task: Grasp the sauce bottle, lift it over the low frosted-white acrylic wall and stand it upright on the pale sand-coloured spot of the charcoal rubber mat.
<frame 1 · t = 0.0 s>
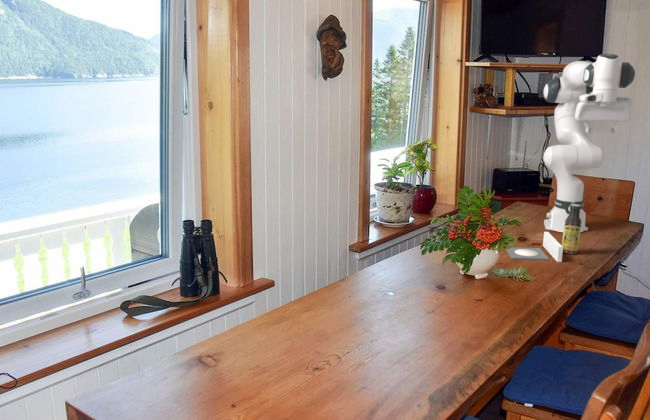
hand: (600, 132, 243), 48 cm above the table, fingers open, 8 cm apart
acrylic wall: (551, 253, 248), on the table
mat: (526, 254, 247), on the table
sauce bottle: (569, 253, 250), on the table
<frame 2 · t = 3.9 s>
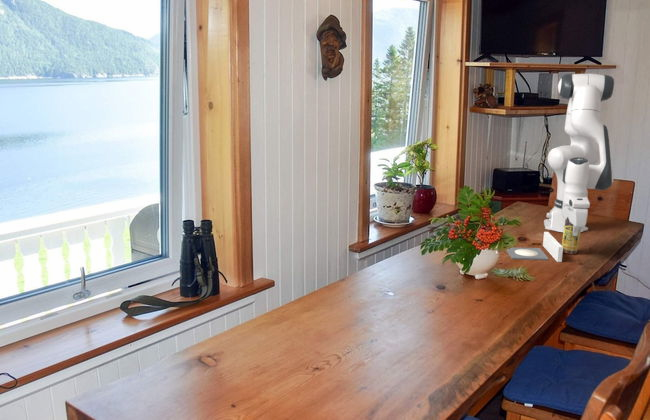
hand: (571, 232, 247), 8 cm above the table, fingers open, 6 cm apart
sauce bottle: (569, 253, 250), on the table, touching arm, gripper
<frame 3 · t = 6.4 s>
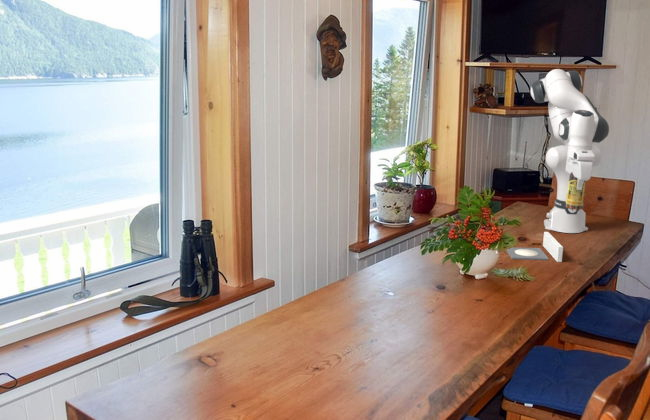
hand: (575, 187, 243), 27 cm above the table, fingers closed on sauce bottle, 6 cm apart
sauce bottle: (573, 208, 246), point 18 cm above the table, touching gripper
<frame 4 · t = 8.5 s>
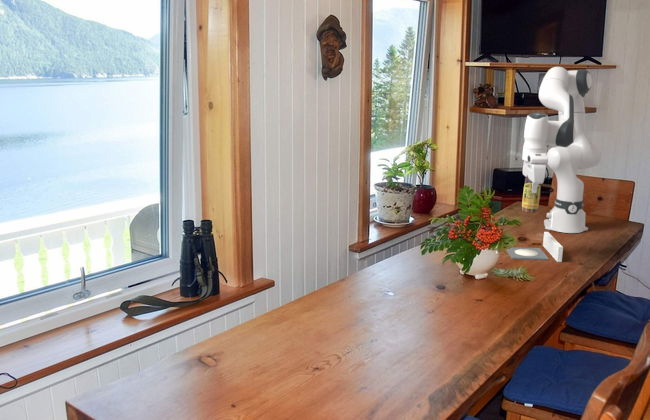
hand: (531, 190, 241), 26 cm above the table, fingers closed on sauce bottle, 6 cm apart
sauce bottle: (530, 212, 243), point 17 cm above the table, touching gripper
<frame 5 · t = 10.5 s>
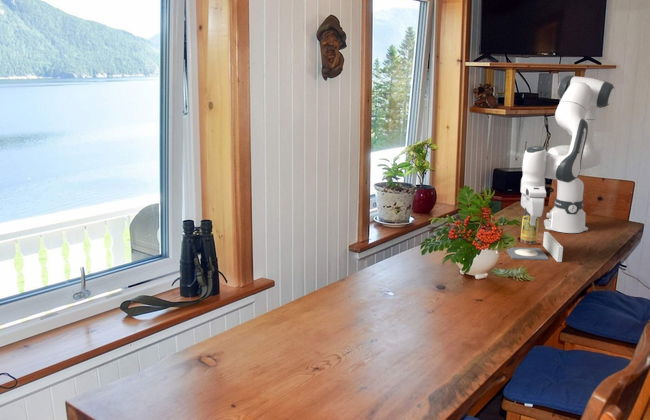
hand: (529, 222, 244), 13 cm above the table, fingers closed on sauce bottle, 6 cm apart
sauce bottle: (528, 243, 246), point 4 cm above the table, touching gripper
when the fingers open (11 cm above the table, at t = 12.1 s): sauce bottle moves 1 cm, point 2 cm above the table.
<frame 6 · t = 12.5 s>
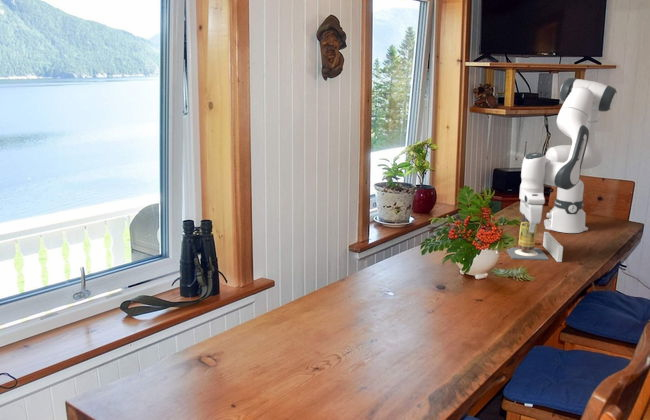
hand: (528, 228, 245), 11 cm above the table, fingers open, 8 cm apart
sauce bottle: (526, 249, 248), point 2 cm above the table, touching gripper
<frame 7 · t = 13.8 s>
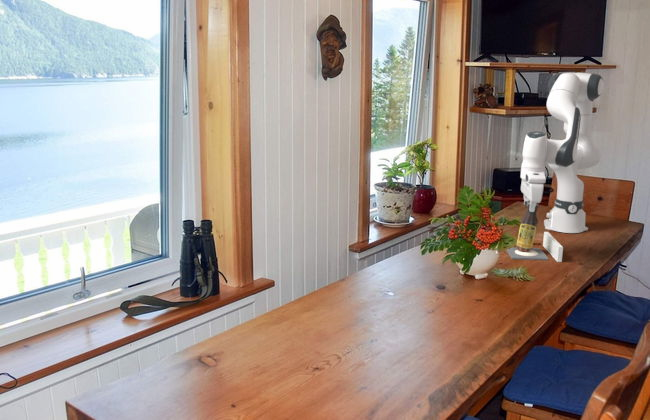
hand: (529, 208, 243), 19 cm above the table, fingers open, 8 cm apart
sauce bottle: (524, 249, 250), point 1 cm above the table, touching mat
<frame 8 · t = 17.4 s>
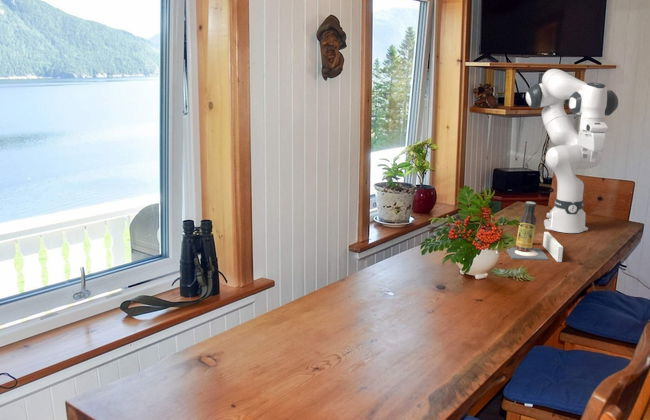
hand: (588, 160, 244), 37 cm above the table, fingers open, 8 cm apart
at the end: sauce bottle inside the target area on the mat (3.3 cm from its centre), point 0.5 cm above the mat's base; sauce bottle tilted 3°; the gripper is holding nothing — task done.
